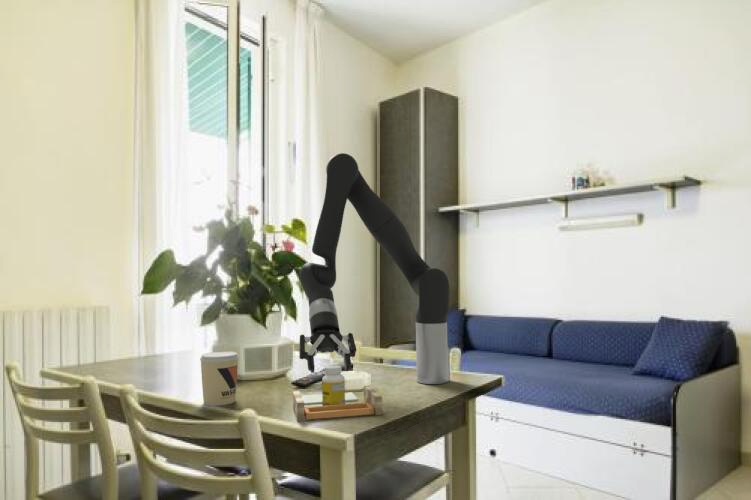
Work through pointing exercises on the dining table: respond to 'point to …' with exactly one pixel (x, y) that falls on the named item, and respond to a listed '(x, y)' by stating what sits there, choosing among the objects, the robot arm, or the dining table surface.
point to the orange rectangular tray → (338, 411)
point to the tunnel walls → (369, 397)
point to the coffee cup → (219, 377)
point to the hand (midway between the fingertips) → (330, 370)
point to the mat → (318, 398)
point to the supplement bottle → (333, 386)
